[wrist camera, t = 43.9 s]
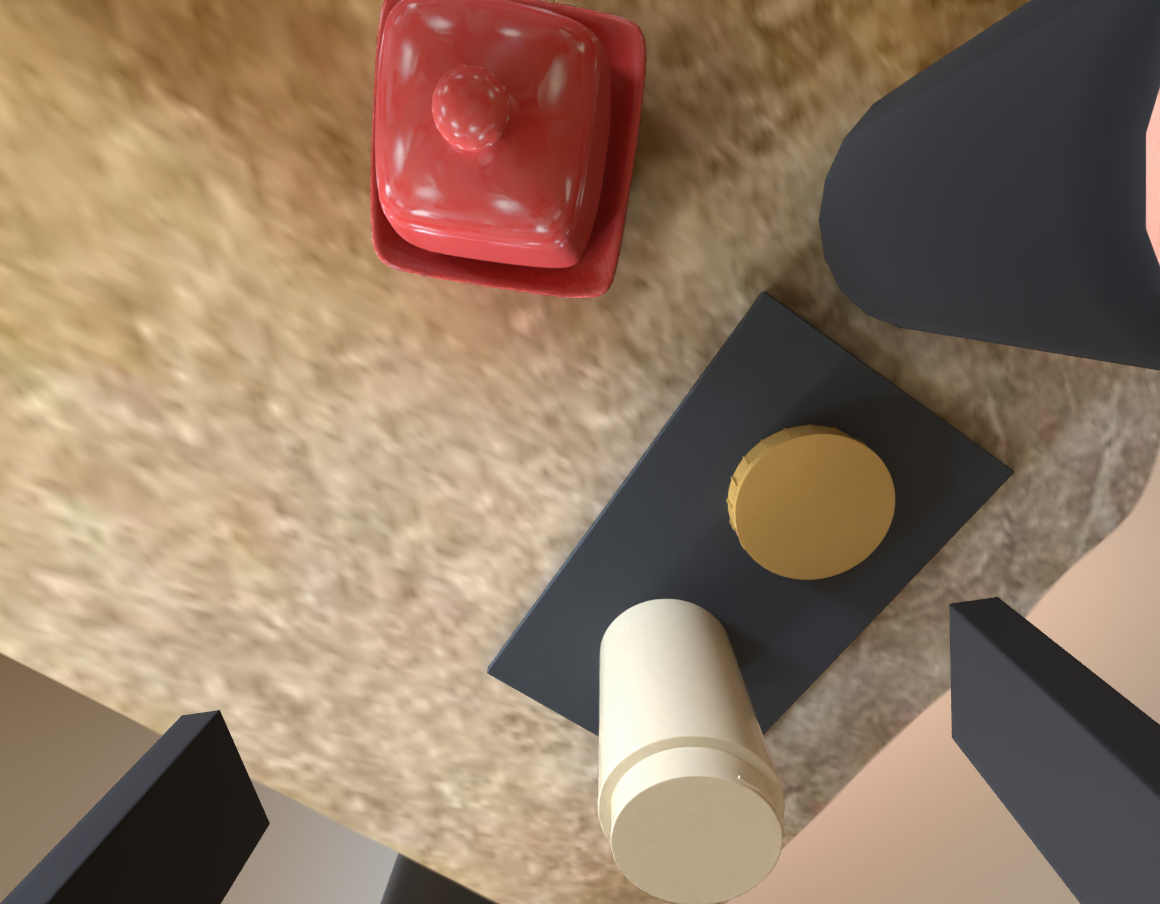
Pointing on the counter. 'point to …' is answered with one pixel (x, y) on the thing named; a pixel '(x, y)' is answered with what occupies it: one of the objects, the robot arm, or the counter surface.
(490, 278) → the butter dish
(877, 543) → the lid
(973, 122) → the coffee jar
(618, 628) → the cream-colored jar
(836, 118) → the counter surface
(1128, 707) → the robot arm
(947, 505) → the mat
